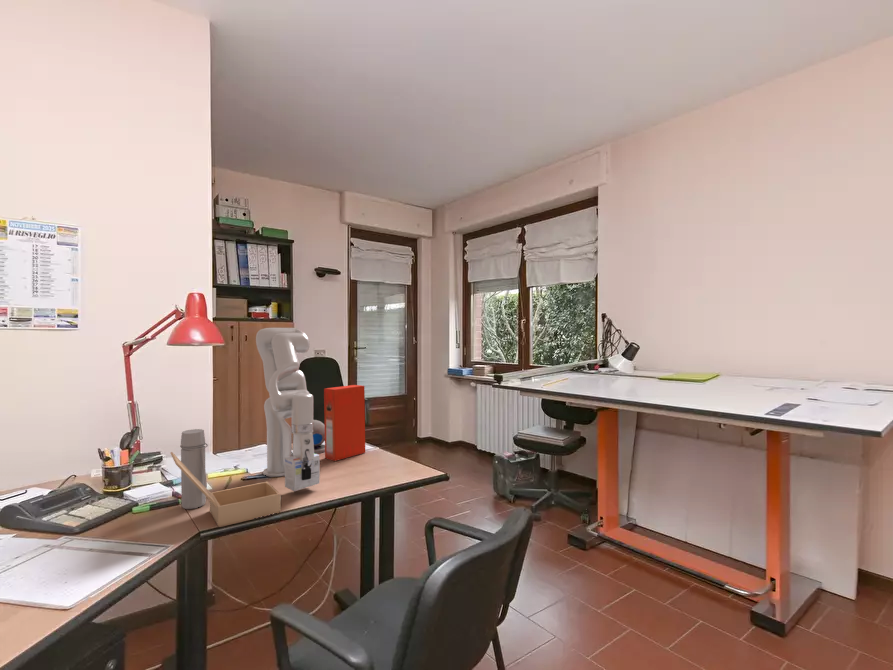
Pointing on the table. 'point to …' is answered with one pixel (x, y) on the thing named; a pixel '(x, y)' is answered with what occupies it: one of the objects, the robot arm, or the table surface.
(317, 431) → the webcam
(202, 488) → the lid
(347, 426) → the file binder
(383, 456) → the table surface
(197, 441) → the water bottle
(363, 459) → the table surface
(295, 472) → the light bulb box
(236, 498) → the cardboard tray
